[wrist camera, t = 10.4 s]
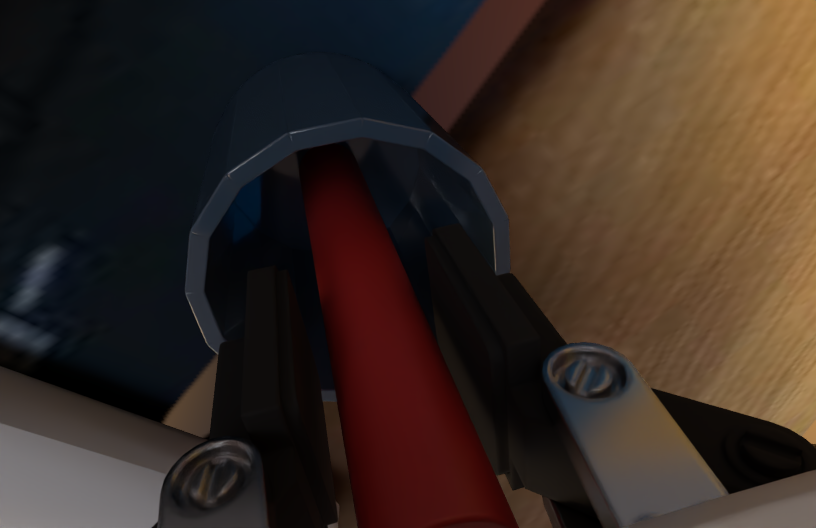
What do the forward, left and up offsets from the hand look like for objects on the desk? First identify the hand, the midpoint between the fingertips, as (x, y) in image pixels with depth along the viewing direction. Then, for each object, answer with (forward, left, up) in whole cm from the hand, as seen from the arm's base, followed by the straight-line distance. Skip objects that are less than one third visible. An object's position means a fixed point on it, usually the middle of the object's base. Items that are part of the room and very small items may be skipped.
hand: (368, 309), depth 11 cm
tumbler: (0, 0, -9) cm, 9 cm away
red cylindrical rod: (0, 0, -8) cm, 8 cm away
